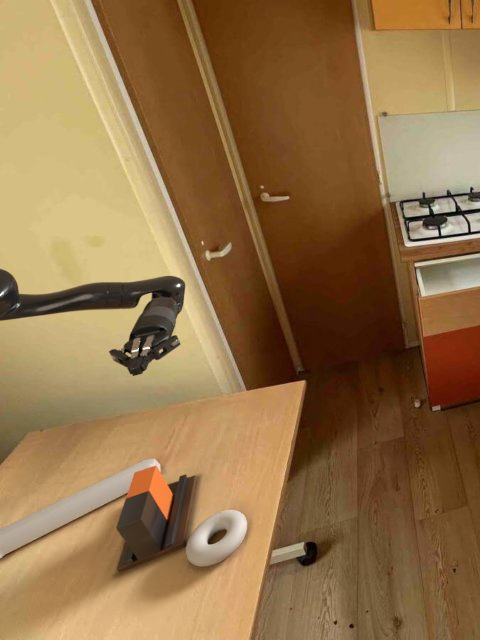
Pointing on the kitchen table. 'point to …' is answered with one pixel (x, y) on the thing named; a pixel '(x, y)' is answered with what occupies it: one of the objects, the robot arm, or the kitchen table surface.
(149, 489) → the orange rectangular block
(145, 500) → the dark brown slotted holder
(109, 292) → the robot arm
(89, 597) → the kitchen table surface
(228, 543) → the donut
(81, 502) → the tube
